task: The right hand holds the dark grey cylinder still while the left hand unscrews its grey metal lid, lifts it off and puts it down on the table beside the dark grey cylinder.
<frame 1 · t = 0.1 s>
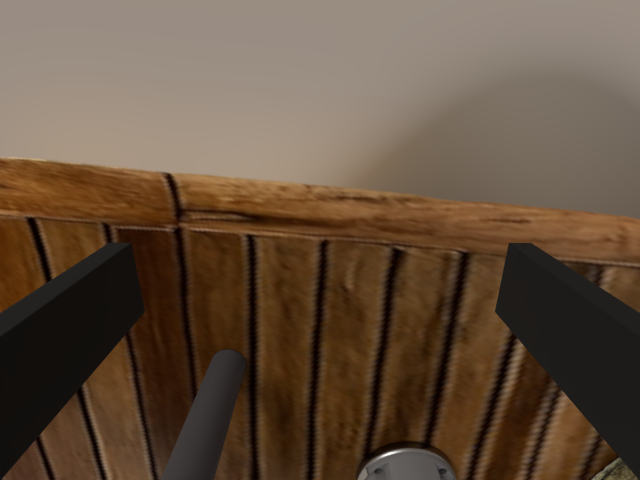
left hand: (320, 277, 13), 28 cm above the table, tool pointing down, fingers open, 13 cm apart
dark grey cylinder: (229, 363, 48), on the table
fossil: (612, 479, 56), on the table
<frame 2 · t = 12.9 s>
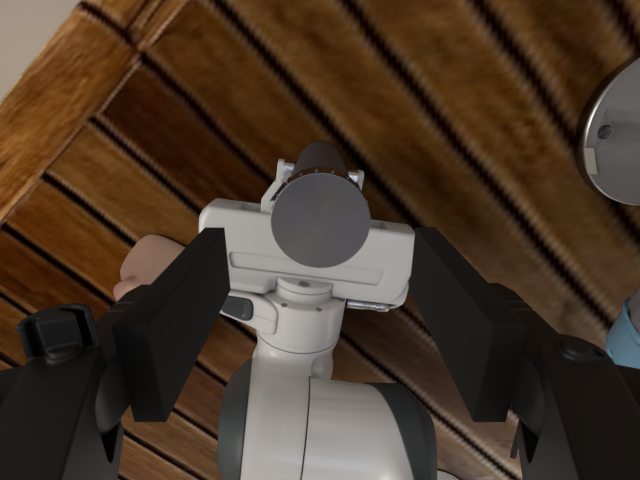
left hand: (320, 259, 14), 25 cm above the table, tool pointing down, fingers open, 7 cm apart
dark grey cylinder: (320, 164, 37), on the table, touching right hand
lid: (320, 221, 19), point 20 cm above the table, screwed on, not yet turned
anatomical model: (169, 288, 43), on the table
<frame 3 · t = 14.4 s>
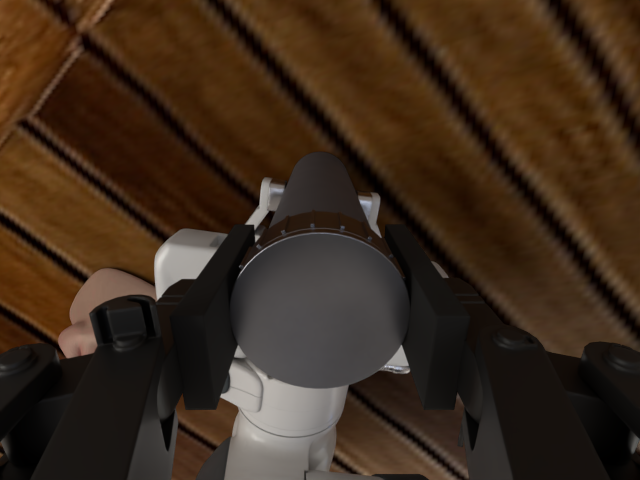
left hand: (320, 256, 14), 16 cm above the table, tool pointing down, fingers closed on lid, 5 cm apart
dark grey cylinder: (319, 180, 29), on the table, touching right hand
lid: (319, 311, 10), point 20 cm above the table, screwed on, not yet turned, touching left hand
anatomical model: (133, 332, 34), on the table
when the left hand's fingers open (16 cm above the table, at t = 15.6 s): lid stays where it is, point 20 cm above the table.
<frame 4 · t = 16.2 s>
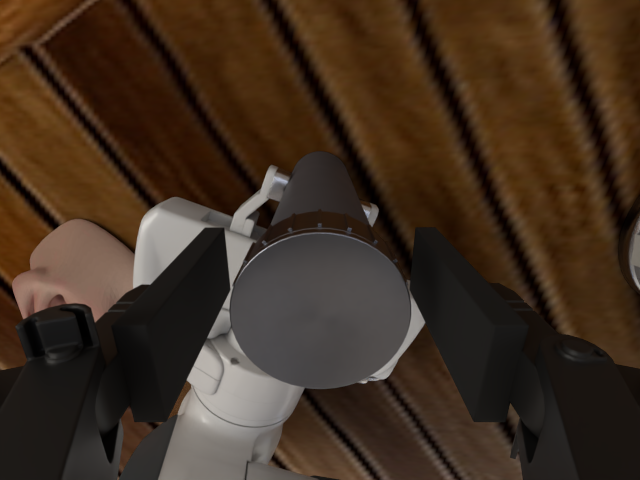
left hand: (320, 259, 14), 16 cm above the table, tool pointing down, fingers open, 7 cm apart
dark grey cylinder: (320, 180, 29), on the table, touching right hand
lid: (320, 311, 10), point 20 cm above the table, turned 63° so far, risen 0.2 cm, still on its thread
anatomical model: (94, 290, 33), on the table
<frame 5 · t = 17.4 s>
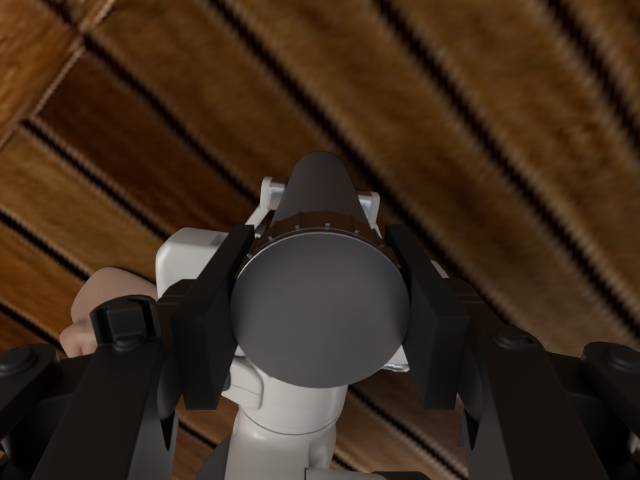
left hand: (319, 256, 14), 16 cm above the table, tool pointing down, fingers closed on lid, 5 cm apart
dark grey cylinder: (319, 180, 29), on the table, touching right hand
lid: (319, 311, 10), point 20 cm above the table, turned 63° so far, risen 0.2 cm, still on its thread, touching left hand
anatomical model: (134, 331, 34), on the table
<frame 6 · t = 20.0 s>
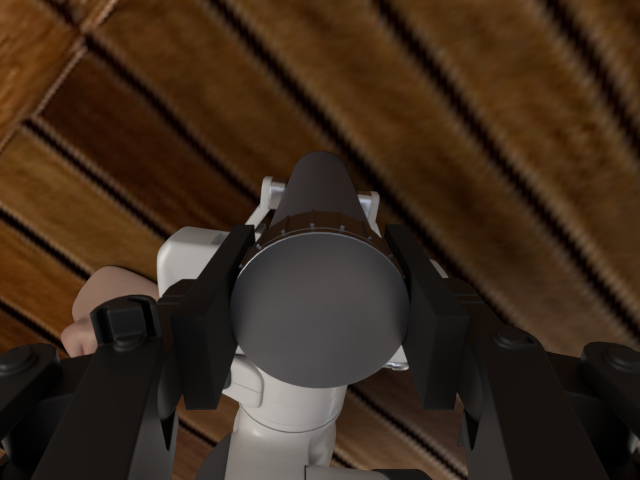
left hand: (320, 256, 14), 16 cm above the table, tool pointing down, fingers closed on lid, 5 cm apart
dark grey cylinder: (319, 179, 29), on the table, touching right hand
lid: (319, 311, 10), point 20 cm above the table, turned 126° so far, risen 0.4 cm, still on its thread, touching left hand
anatomical model: (134, 329, 35), on the table
when the left hand's fingers open (0 cm above the table, at t = 26.2 s): lid drops 2 cm, point 2 cm above the table.
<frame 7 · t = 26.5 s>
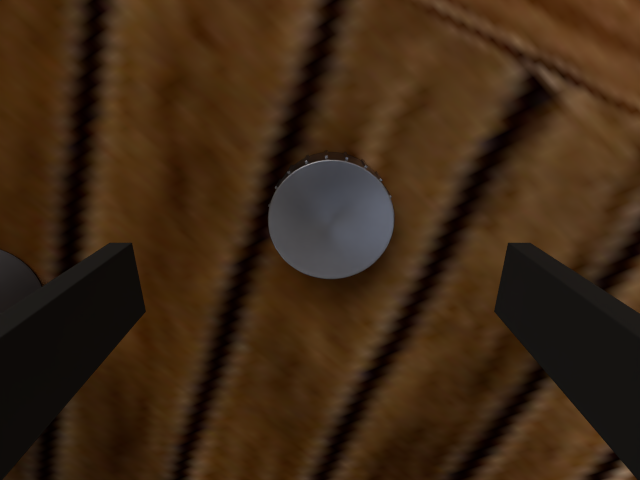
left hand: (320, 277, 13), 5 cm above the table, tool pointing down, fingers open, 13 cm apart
lid: (330, 220, 15), point 2 cm above the table, off its thread
when the right hand's fingers open (6 cm above the table, at t = 26.8 s): dark grey cylinder stays where it is, on the table.
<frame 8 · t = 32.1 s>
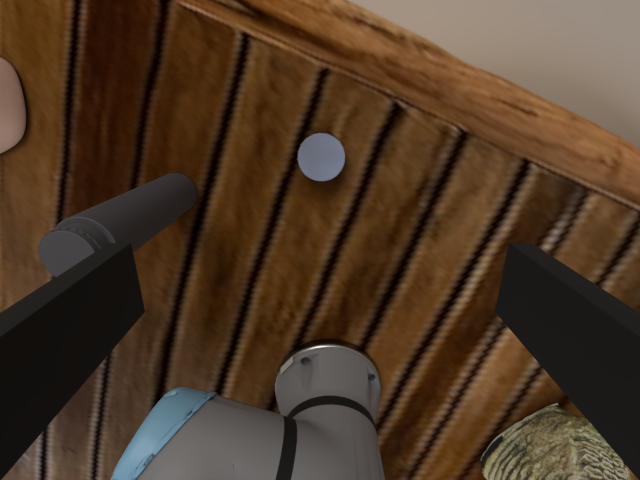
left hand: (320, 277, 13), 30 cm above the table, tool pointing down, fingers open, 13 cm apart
dark grey cylinder: (177, 192, 42), on the table
lid: (321, 157, 39), point 2 cm above the table, off its thread
fossil: (526, 433, 56), on the table
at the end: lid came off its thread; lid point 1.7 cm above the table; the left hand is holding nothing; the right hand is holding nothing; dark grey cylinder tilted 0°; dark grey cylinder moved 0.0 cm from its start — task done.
